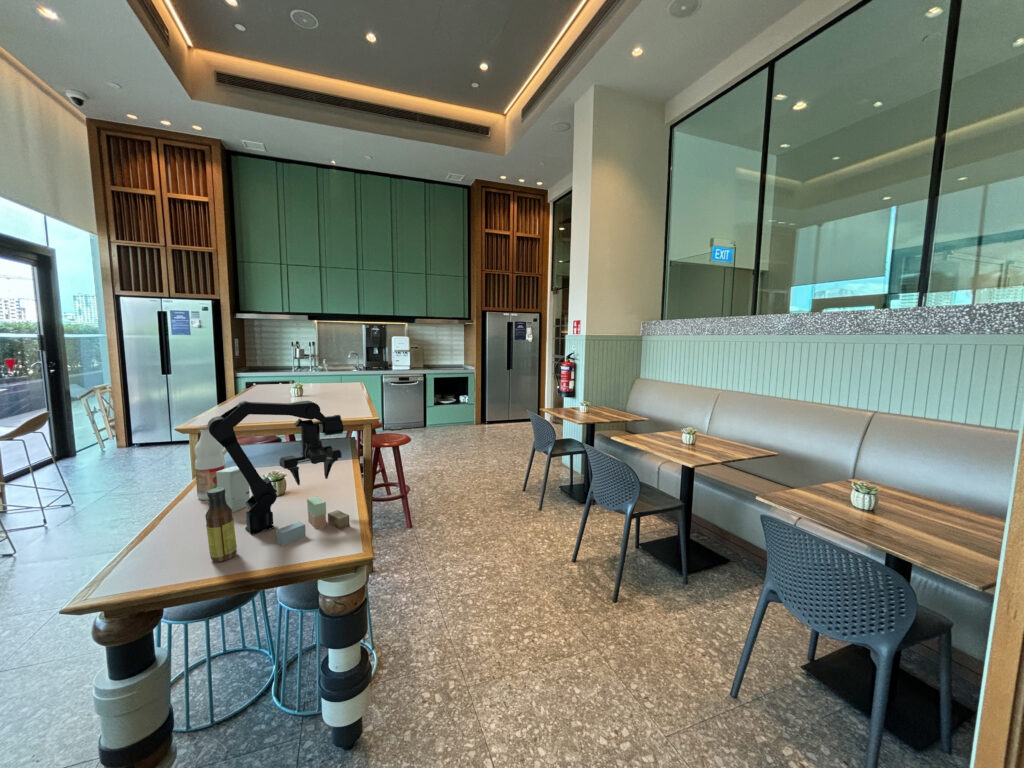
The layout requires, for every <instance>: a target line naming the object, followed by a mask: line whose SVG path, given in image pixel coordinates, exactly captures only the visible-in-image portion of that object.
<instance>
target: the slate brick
mask: <svg viewBox="0 0 1024 768" xmlns="http://www.w3.org/2000/svg"><path fill="white" fill-rule="evenodd" d="M275 531H276V532H275V533H276V543H278V544H279V545H281V546H284V545H288V544H290V543H292V542H295V541H297V540H300V539H302V537H303V538H304V537H306V536H307V534H306V523H303V522H301V521H297V522H294V523H291V524H289V525H286V526H284V527H283V526H282V527H280V528H277V529H276V530H275Z"/></svg>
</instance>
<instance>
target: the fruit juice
mask: <svg viewBox="0 0 1024 768" xmlns="http://www.w3.org/2000/svg"><path fill="white" fill-rule="evenodd" d="M199 431H200V437H199V440H198V442H197V443H196V444H195V445H194V449H193V450H194V452H193V453H194V454H195V456H196V458H195V461H194V469H195V481H196V483H195V484H196V496H197V498H198V500H201V501H209V498H208V496H207V492H208V491H209V490H211V489H214V488H217V476H216V472H217V471H220V470H223V469H226V459H225V455H223V453H224V452H223V451H224V449H225V448H224V447H223V446H222V445H221V444H220V443H219V442H218V441H217V440H216V439H215V438H214V437H213V436H212V435H211V434H210V432H209V430H208V428H207V424H203V425H200V426H199Z"/></svg>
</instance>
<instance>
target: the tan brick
mask: <svg viewBox="0 0 1024 768" xmlns="http://www.w3.org/2000/svg"><path fill="white" fill-rule="evenodd" d="M307 518H308V519H307V520H308V523H309V524H310V525H311V526H312V527H313V529H318V527H319V528H322V527H325V526H327V513H326V514H324V515H320V516H317V517H315V516H314V515H312V514H311V513H310V512H309V511H308V510H307Z"/></svg>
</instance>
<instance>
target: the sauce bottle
mask: <svg viewBox="0 0 1024 768" xmlns="http://www.w3.org/2000/svg"><path fill="white" fill-rule="evenodd" d="M225 493H226V492H225V488H222V487H221V488H214V489H211V490H209V491H208V492H207V496H208V498H209V500H208V510H207V511H206V513H205V515H204V517H205V522H206V523H205V525H206V535H207V541H208V550H209V557H210V560H211V561H212V562H215V563H218V562H226V561H229V560H230V559H232V558H234V557H235V556H237V552H238V551H237V550H238V548H237V547H238V545H237V539H236V538H237V537H236V531H235V522H234V517H233V513H232V509H231V508H230V507H229V506H228V505H227V503H226V500H225Z"/></svg>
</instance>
